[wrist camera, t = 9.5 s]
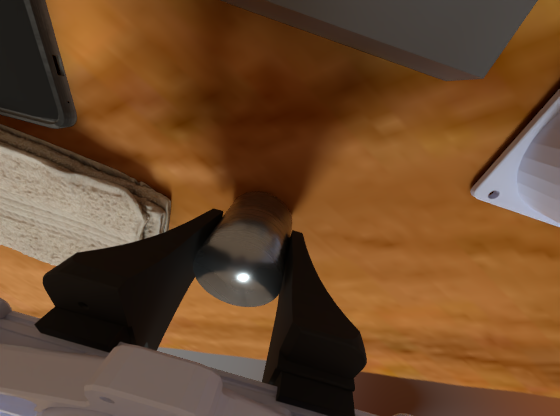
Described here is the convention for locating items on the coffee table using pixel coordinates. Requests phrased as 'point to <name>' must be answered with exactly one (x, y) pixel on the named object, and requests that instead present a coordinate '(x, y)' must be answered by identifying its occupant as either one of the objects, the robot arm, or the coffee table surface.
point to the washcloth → (70, 201)
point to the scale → (409, 29)
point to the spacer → (246, 251)
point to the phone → (32, 67)
